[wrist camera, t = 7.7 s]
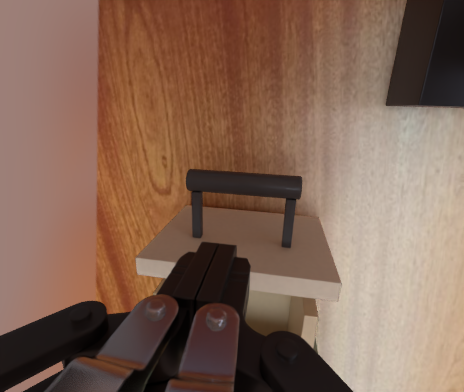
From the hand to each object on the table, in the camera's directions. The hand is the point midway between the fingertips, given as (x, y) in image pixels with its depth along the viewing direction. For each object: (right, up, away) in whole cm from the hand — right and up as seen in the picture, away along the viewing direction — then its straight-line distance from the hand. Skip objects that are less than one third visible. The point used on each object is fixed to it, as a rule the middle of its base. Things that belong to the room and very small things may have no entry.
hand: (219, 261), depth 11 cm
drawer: (+2, -3, +13) cm, 14 cm away
